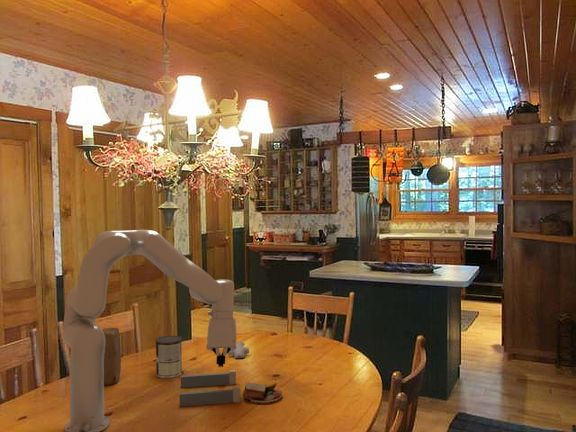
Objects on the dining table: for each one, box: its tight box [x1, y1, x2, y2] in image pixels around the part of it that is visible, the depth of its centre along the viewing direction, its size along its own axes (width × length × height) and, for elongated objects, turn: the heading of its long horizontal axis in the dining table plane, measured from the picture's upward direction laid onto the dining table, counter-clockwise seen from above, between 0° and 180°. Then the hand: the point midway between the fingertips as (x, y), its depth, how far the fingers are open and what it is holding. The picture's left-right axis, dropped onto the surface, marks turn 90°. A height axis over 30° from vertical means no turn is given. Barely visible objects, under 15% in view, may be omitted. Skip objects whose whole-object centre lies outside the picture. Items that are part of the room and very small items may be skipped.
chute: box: [179, 369, 241, 407], centre depth 177 cm, size 19×20×5 cm
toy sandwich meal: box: [242, 381, 283, 404], centre depth 174 cm, size 12×14×5 cm
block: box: [102, 327, 122, 386], centre depth 191 cm, size 11×8×20 cm
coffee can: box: [154, 335, 183, 379], centre depth 199 cm, size 10×10×14 cm
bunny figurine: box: [227, 341, 250, 359], centre depth 225 cm, size 10×5×15 cm
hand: (220, 366), depth 177 cm, fingers closed
